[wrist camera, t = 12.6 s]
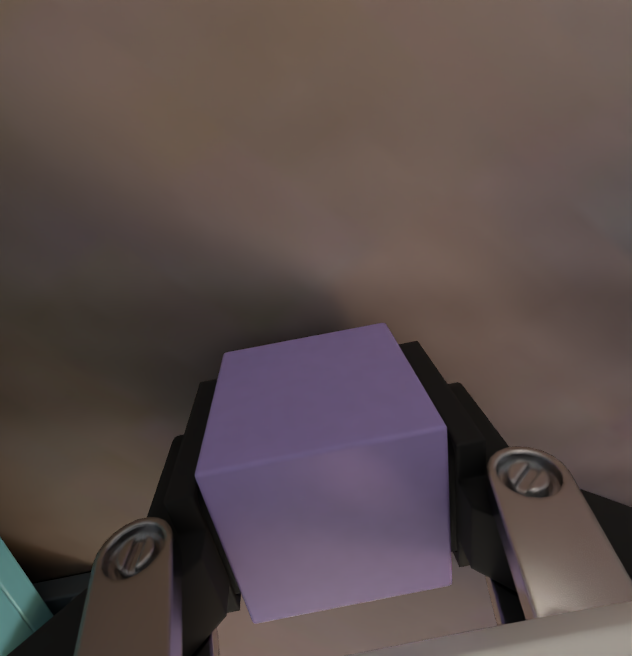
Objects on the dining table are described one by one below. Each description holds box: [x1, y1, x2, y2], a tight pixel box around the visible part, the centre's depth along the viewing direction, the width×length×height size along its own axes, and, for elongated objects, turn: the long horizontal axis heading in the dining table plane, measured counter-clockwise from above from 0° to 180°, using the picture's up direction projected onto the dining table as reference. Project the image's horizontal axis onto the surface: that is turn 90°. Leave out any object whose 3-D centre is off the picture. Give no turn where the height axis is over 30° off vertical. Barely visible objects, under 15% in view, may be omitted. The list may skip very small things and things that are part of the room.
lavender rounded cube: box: [195, 323, 452, 623], centre depth 9 cm, size 4×4×4 cm
